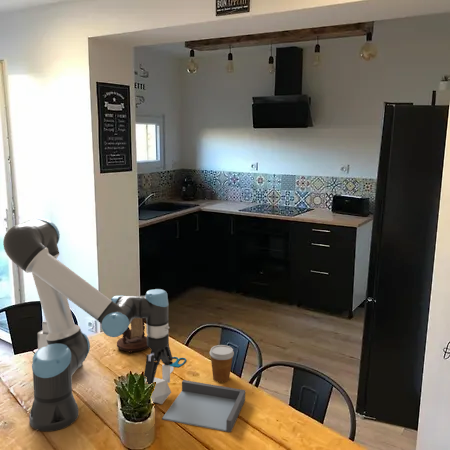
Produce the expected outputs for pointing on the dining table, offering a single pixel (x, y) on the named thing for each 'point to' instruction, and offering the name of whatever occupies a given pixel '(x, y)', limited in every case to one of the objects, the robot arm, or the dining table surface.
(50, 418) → the robot arm
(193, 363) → the dining table surface
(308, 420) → the dining table surface
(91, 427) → the dining table surface
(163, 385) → the die
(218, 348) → the disposable coffee cup
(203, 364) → the dining table surface
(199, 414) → the tray
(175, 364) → the scissors
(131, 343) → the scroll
